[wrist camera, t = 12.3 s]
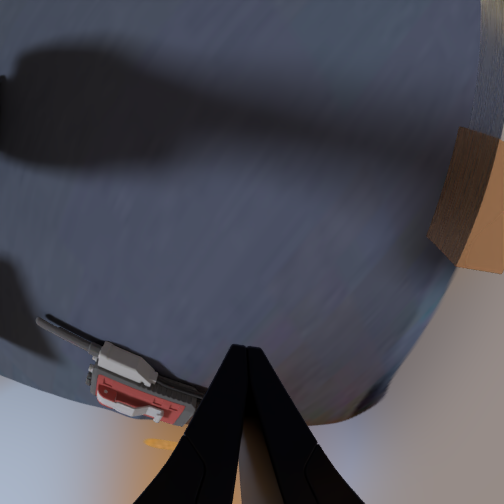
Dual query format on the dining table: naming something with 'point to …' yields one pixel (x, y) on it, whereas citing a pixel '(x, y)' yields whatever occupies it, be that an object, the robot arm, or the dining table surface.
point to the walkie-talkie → (132, 382)
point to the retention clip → (478, 164)
